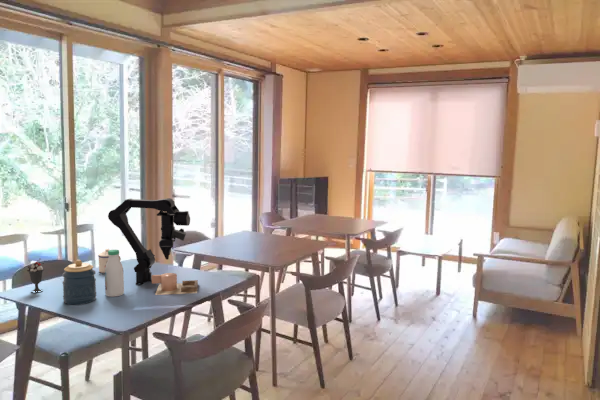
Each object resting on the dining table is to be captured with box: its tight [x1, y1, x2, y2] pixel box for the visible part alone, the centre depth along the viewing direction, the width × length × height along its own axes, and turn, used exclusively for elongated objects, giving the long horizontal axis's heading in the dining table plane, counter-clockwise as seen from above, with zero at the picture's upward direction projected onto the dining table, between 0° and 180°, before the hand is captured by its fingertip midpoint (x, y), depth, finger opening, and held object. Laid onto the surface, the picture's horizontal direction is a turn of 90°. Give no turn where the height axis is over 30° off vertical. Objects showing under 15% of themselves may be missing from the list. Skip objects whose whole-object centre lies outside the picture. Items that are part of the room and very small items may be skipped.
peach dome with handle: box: [151, 272, 178, 291], centre depth 219 cm, size 11×7×6 cm, turn 100°
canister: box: [62, 259, 97, 306], centre depth 204 cm, size 13×13×18 cm
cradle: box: [155, 279, 199, 296], centre depth 220 cm, size 18×16×3 cm
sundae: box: [26, 259, 45, 292], centre depth 215 cm, size 7×7×15 cm
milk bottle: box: [104, 249, 125, 298], centre depth 212 cm, size 8×8×20 cm
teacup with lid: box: [97, 248, 122, 274], centre depth 252 cm, size 12×9×12 cm
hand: (168, 257), depth 230 cm, fingers open, 9 cm apart
